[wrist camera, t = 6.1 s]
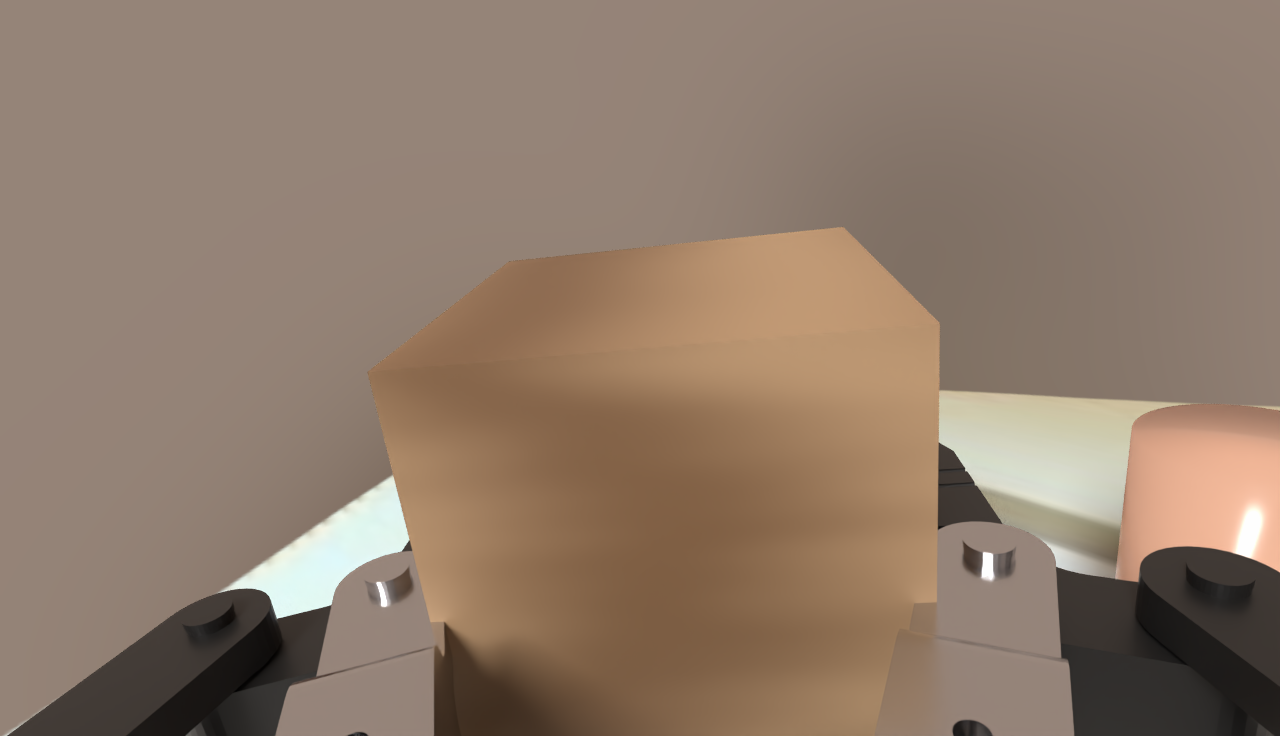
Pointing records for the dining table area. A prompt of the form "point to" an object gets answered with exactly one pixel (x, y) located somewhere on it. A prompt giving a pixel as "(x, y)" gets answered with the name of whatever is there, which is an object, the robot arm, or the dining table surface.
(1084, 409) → the dining table surface
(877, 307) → the walnut block
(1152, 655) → the robot arm
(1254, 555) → the terracotta cylinder
